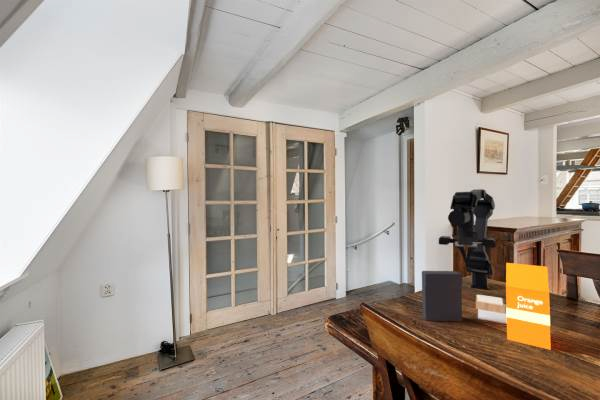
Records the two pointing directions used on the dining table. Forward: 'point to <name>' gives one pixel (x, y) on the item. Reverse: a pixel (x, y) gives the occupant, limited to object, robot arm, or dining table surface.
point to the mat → (492, 316)
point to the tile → (490, 304)
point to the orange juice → (528, 304)
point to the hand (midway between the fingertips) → (466, 263)
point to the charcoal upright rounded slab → (442, 295)
